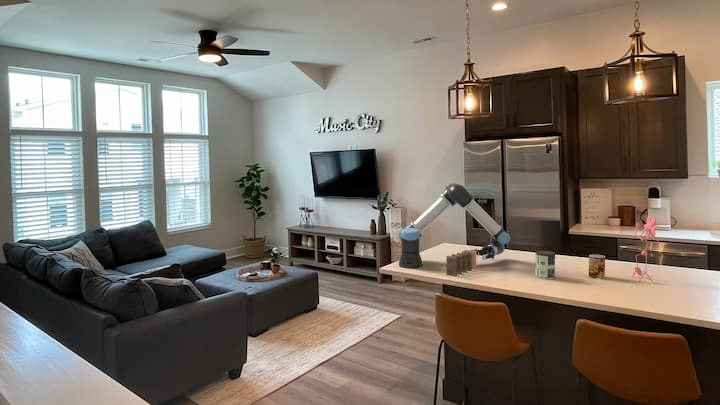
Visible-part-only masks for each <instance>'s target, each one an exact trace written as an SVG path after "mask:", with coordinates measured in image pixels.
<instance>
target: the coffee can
mask: <svg viewBox="0 0 720 405" xmlns="http://www.w3.org/2000/svg"><path fill="white" fill-rule="evenodd" d="M534 272H535V274H534V276H535V278H537V279H542V280H554V279H556V277H555V276H556V275H555V274H556V252H554V251H551V250H536V251H535V271H534Z"/></svg>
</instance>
